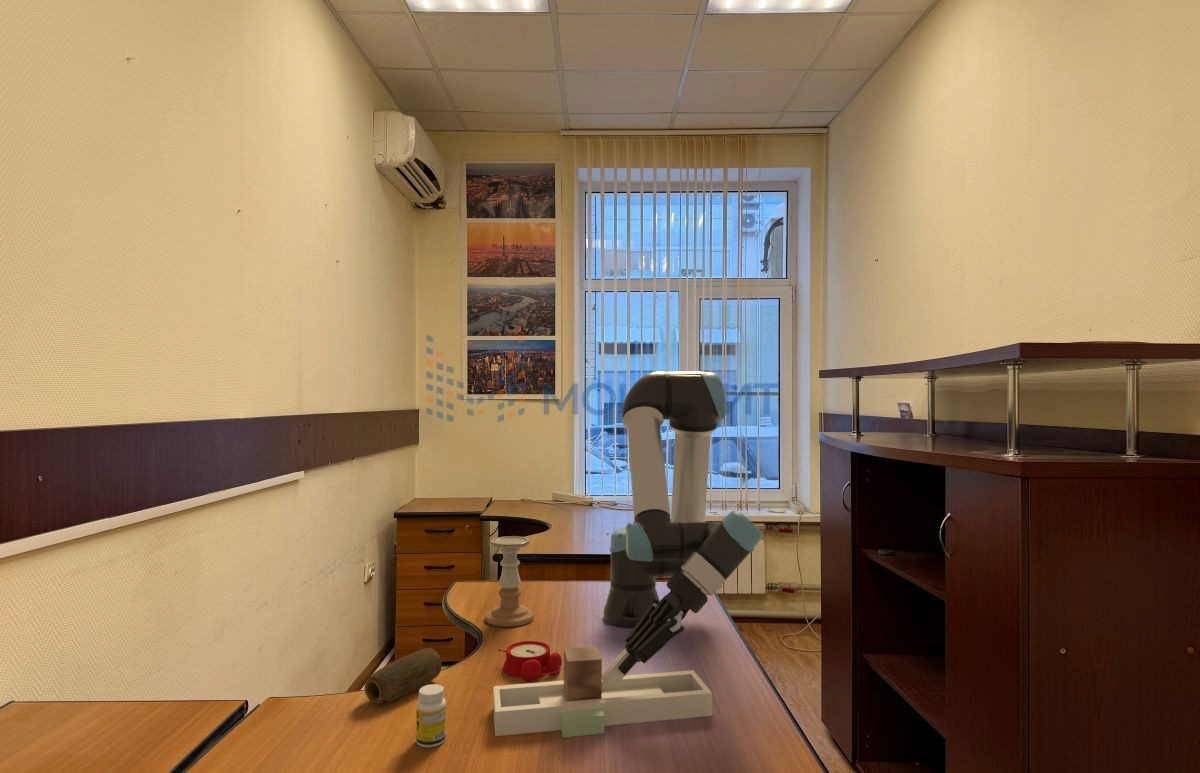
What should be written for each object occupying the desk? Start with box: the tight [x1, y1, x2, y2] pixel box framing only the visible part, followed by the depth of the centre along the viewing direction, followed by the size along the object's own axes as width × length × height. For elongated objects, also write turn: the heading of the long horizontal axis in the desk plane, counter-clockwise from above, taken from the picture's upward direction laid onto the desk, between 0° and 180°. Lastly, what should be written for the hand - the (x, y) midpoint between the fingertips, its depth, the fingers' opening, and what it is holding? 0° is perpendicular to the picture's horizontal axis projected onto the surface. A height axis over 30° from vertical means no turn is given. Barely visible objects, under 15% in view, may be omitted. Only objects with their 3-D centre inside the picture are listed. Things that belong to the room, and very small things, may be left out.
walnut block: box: [563, 646, 603, 702], centre depth 117 cm, size 6×6×8 cm
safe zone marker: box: [551, 679, 605, 738], centre depth 116 cm, size 7×15×3 cm, turn 11°
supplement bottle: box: [415, 683, 447, 748], centre depth 107 cm, size 5×5×8 cm
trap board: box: [492, 669, 713, 737], centre depth 117 cm, size 38×10×4 cm, turn 101°
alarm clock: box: [498, 640, 563, 682], centre depth 135 cm, size 10×6×15 cm
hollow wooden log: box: [363, 647, 443, 705], centre depth 125 cm, size 15×7×7 cm, turn 152°
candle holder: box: [484, 535, 535, 628], centre depth 167 cm, size 12×12×20 cm
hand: (606, 683), depth 116 cm, fingers closed
